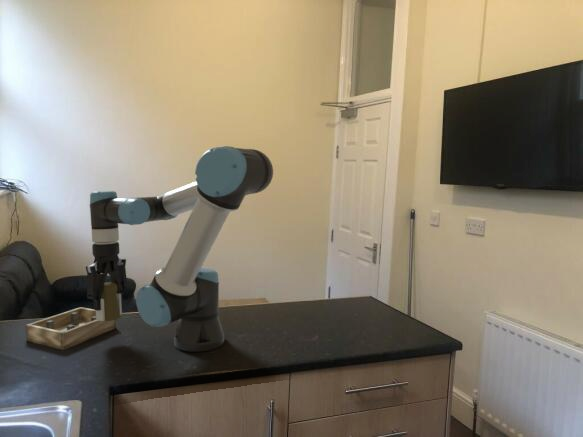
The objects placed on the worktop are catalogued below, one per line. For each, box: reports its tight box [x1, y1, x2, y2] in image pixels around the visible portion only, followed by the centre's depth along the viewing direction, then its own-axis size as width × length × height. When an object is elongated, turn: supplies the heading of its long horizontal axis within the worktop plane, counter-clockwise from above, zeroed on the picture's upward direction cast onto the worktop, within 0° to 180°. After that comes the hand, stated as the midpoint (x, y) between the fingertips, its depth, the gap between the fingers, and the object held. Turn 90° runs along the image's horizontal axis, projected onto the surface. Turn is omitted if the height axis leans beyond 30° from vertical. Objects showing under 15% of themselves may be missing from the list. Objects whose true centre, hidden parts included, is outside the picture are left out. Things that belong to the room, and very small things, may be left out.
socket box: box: [25, 306, 117, 351], centre depth 141 cm, size 16×20×5 cm
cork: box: [101, 281, 121, 321], centre depth 135 cm, size 6×6×11 cm
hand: (109, 316), depth 135 cm, fingers closed on cork, 6 cm apart
